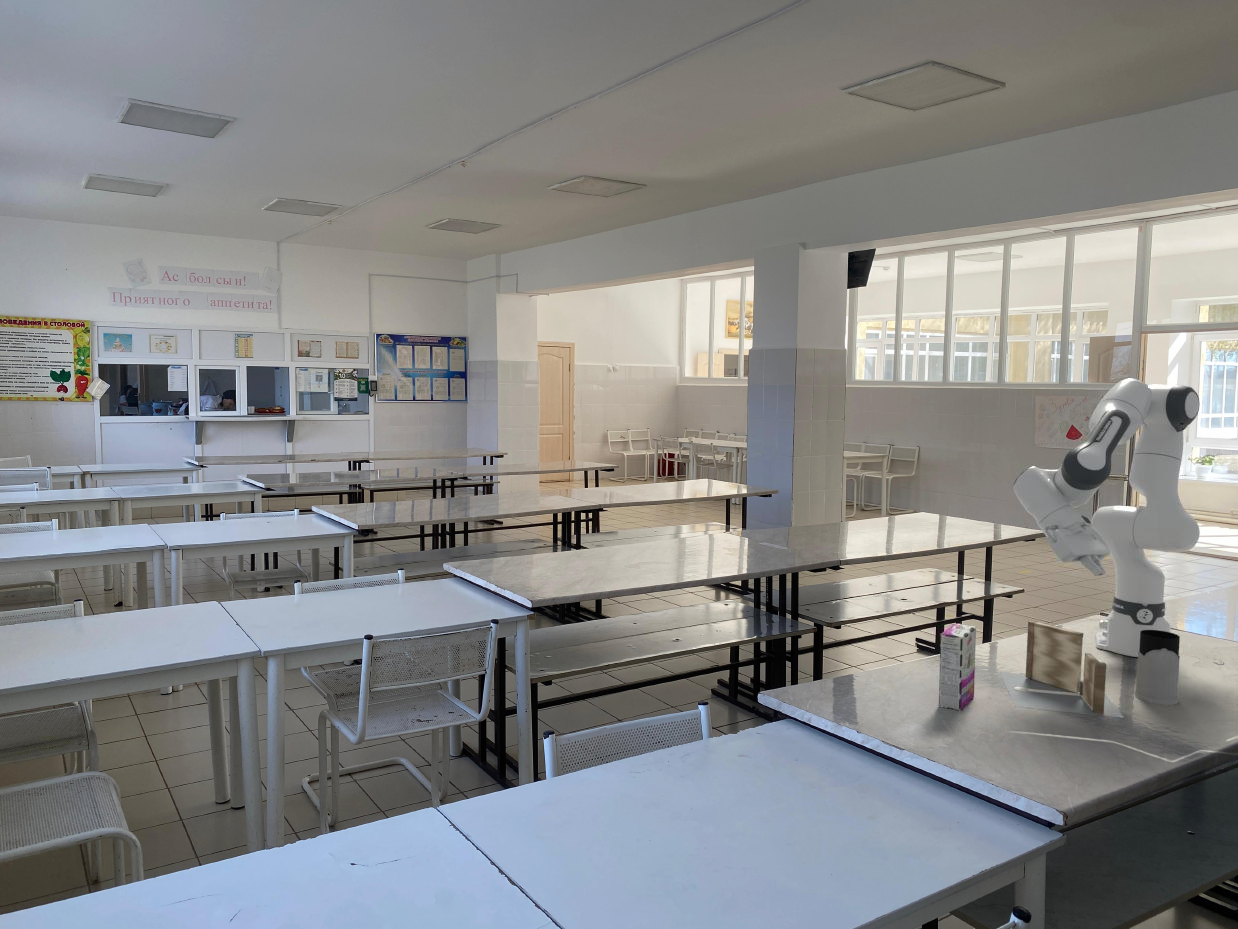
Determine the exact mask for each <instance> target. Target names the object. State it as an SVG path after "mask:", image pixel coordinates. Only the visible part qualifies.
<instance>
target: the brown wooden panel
mask: <svg viewBox="0 0 1238 929" xmlns="http://www.w3.org/2000/svg"><path fill="white" fill-rule="evenodd" d="M1026 638H1027V640H1026V661H1025V674H1026V678H1029V679H1034V680H1037V681H1040V682H1044V683H1047V684H1050V685H1053V686H1057V687H1060V688H1063V689H1066V690H1070V691H1073V692H1076V693H1078V692H1080V681H1081V680H1082V679H1081V678H1082V677H1081V676H1082V660H1083V658H1082V656H1083V644H1084V642H1083V638H1084V632H1080V631H1076V630H1072V629H1068V628H1064V627H1060V626H1056V625H1051V624H1047V623H1043V622H1038V621H1036V620H1030V621H1027V637H1026Z"/></svg>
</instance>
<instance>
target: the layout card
mask: <svg viewBox="0 0 1238 929" xmlns="http://www.w3.org/2000/svg"><path fill="white" fill-rule="evenodd" d="M999 674H1000V676H1001V678H1002V680H1003V683H1004V685H1005V687H1006V689H1007V692H1008V693H1009V696H1010V699H1011V701H1012V703H1013V705H1014V707H1016V708H1025V709H1034V710H1042V711H1051V712H1052V711H1053V712H1063V713H1069V714H1070V713H1071V714H1080V715H1091V716H1099V717H1107V718H1108V717H1110V718H1118V719H1119V718H1120V719H1125V717H1124V716H1123V714H1122V713H1121V712H1120V711H1119V709H1118V708H1117V707H1116V706H1115V705H1114V703H1113V702H1112V700H1111V699H1110V698H1109V697H1108V695H1107V694H1106V693H1105V699H1104V714H1097V713H1094V712H1093V711H1092V710H1093V708H1092V707H1091V706H1090V705H1089V704H1088V702H1087V701H1086V700H1085V699H1084V698H1083V696H1082V695H1080V692H1078V693H1076V692H1073V691H1070V690H1066V689H1063V688H1060V687H1057V686H1053V685H1050V684H1047V683H1044V682H1040V681H1037V680H1034V679H1029V678H1026V673H1025V674H1024V673H1014V672H1013V673H1012V672H1003V671H999ZM1081 681H1083V679H1081Z"/></svg>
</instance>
